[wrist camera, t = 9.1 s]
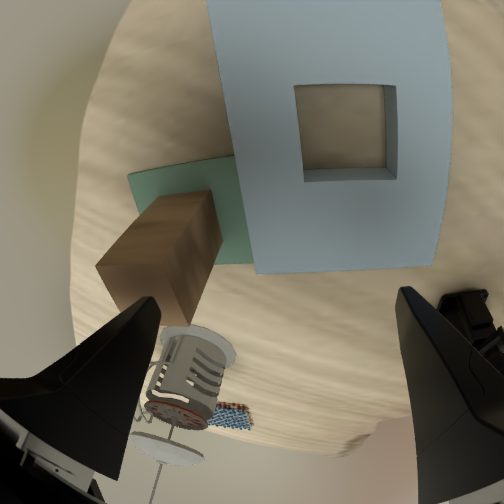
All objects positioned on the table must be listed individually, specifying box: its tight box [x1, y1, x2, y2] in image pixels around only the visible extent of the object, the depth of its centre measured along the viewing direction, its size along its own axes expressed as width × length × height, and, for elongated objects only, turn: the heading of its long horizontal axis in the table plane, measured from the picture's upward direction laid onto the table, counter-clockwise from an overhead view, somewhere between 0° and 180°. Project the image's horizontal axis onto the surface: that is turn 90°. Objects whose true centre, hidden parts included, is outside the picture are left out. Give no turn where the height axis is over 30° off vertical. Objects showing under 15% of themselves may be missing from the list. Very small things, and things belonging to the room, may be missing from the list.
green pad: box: [127, 156, 254, 264], centre depth 22 cm, size 9×9×1 cm
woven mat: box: [206, 402, 254, 430], centre depth 44 cm, size 10×11×2 cm
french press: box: [129, 325, 236, 504], centre depth 22 cm, size 10×12×25 cm
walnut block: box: [95, 189, 223, 327], centre depth 18 cm, size 4×4×9 cm
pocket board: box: [206, 0, 453, 274], centre depth 15 cm, size 20×14×2 cm
